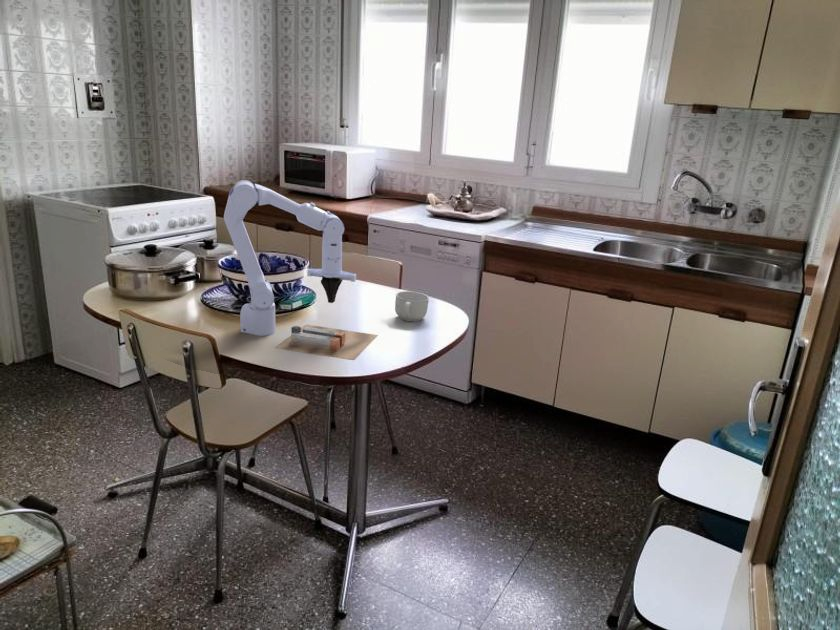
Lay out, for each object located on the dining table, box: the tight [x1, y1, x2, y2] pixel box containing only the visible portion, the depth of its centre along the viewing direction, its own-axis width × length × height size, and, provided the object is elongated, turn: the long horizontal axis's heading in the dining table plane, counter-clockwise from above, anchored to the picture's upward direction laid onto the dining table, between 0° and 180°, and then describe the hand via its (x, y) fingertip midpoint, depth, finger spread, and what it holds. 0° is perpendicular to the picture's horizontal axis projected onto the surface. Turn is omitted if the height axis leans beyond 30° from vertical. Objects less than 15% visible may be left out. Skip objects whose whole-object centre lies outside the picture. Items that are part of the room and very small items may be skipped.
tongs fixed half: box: [290, 325, 340, 351], centre depth 171 cm, size 15×4×4 cm, turn 75°
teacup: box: [394, 290, 430, 322], centre depth 198 cm, size 14×11×8 cm
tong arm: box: [303, 327, 345, 346], centre depth 173 cm, size 12×2×3 cm, turn 74°
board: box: [275, 324, 379, 361], centre depth 175 cm, size 23×20×1 cm
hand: (331, 301), depth 182 cm, fingers closed
